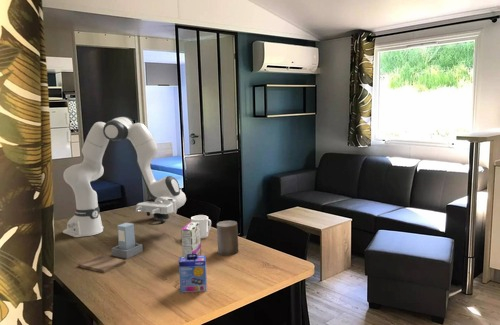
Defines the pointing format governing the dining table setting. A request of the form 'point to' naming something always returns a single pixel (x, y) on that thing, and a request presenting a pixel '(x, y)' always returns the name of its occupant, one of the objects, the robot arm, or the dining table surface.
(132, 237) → the slate box
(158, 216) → the milk frother
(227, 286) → the dining table surface
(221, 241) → the pillar candle
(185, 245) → the candy bar box
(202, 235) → the mug
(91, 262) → the walnut board
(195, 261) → the ink cartridge box
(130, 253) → the gray bin
